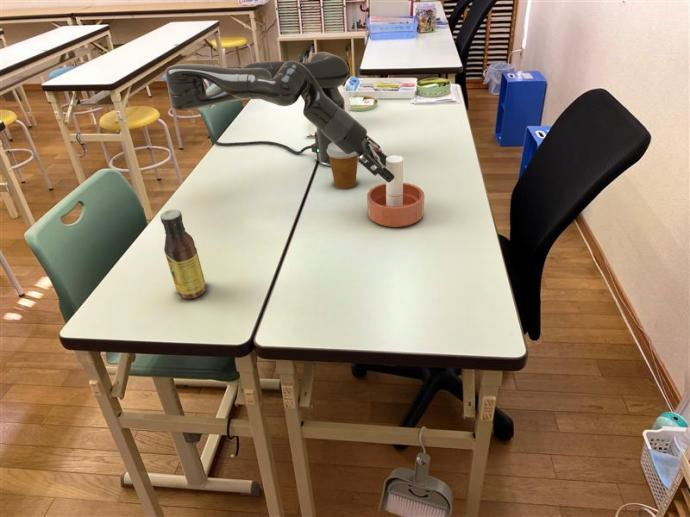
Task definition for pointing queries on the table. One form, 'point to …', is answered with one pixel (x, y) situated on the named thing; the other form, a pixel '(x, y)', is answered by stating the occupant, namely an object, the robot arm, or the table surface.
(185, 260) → the sauce bottle
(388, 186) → the tube
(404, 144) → the table surface
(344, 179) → the disposable coffee cup
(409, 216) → the bowl
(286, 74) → the robot arm
